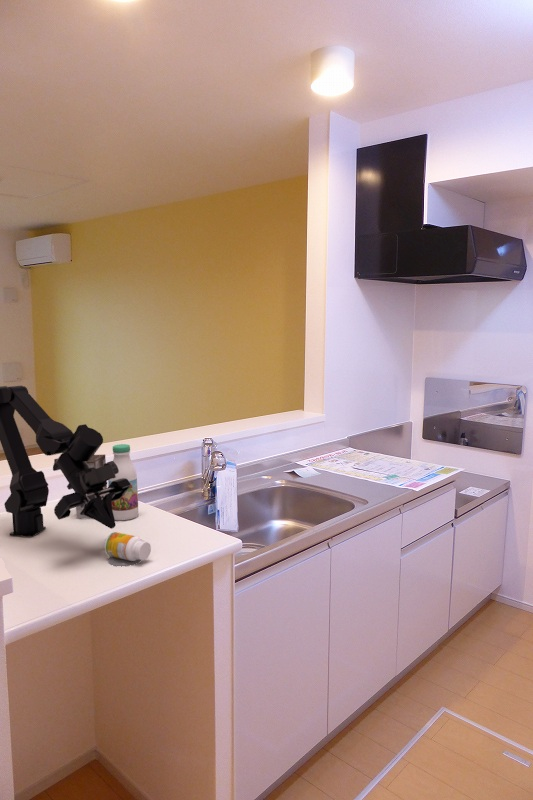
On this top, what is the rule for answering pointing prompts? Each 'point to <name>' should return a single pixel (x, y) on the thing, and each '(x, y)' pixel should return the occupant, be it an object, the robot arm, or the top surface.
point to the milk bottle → (129, 501)
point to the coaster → (121, 562)
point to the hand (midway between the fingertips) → (113, 527)
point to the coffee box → (93, 462)
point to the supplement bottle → (127, 547)
